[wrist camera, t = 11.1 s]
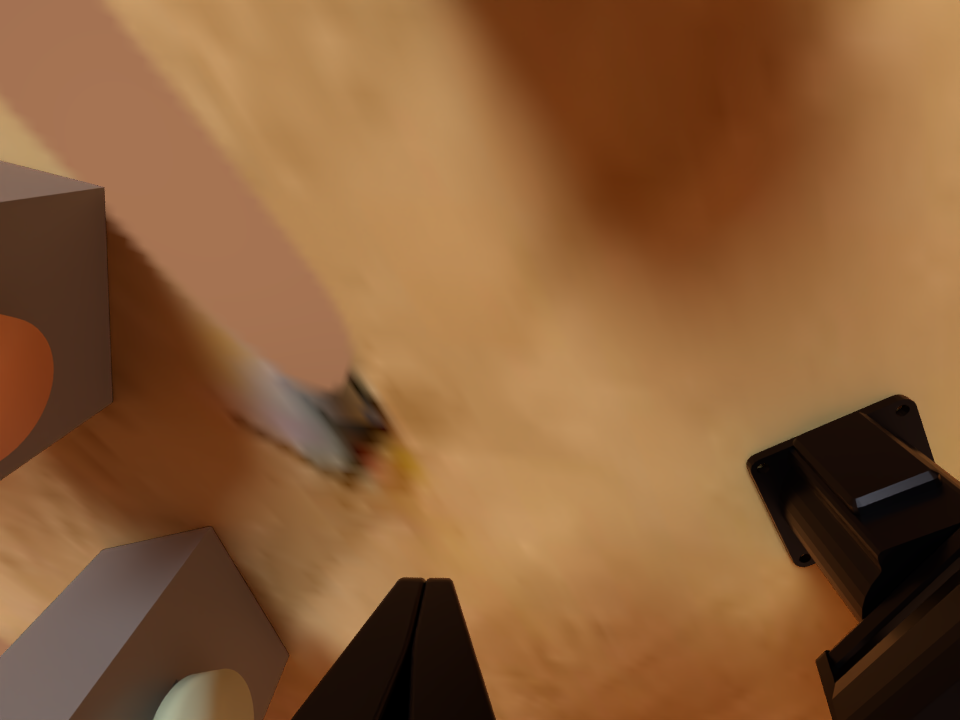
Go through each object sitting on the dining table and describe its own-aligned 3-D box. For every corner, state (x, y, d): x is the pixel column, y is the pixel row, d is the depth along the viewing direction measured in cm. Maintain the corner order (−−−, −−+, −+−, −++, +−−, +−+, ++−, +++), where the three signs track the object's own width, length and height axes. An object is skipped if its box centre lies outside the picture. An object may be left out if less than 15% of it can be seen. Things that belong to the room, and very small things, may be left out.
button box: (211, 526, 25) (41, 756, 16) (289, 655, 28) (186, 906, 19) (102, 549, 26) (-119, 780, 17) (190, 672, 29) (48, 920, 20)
